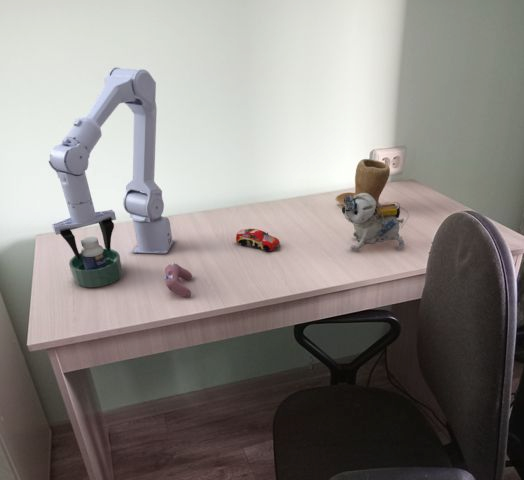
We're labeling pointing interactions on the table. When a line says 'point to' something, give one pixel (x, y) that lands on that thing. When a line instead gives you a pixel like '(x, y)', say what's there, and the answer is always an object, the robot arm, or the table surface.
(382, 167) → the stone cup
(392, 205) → the robotic toy
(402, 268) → the table surface
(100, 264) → the pill bottle
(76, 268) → the bowl
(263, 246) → the race car
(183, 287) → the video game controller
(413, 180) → the table surface
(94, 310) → the table surface
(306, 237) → the table surface
